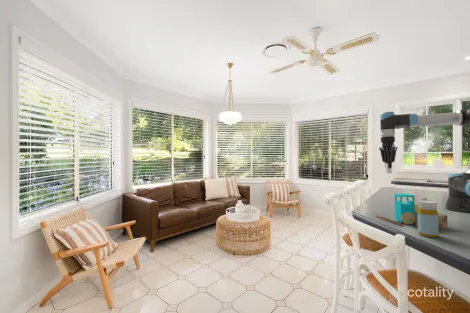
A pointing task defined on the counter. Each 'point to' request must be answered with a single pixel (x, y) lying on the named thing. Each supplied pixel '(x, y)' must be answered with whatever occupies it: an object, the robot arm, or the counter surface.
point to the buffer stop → (441, 221)
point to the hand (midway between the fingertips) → (388, 173)
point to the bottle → (428, 218)
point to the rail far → (389, 220)
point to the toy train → (406, 209)
